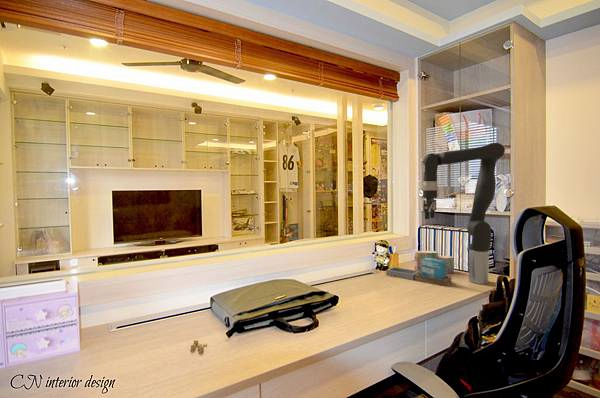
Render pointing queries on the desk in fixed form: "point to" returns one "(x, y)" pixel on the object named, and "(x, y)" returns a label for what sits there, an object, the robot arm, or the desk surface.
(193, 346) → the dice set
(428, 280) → the walnut bin
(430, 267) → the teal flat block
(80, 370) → the desk surface
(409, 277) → the grey bin
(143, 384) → the desk surface
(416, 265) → the stack of blocks
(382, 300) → the desk surface
